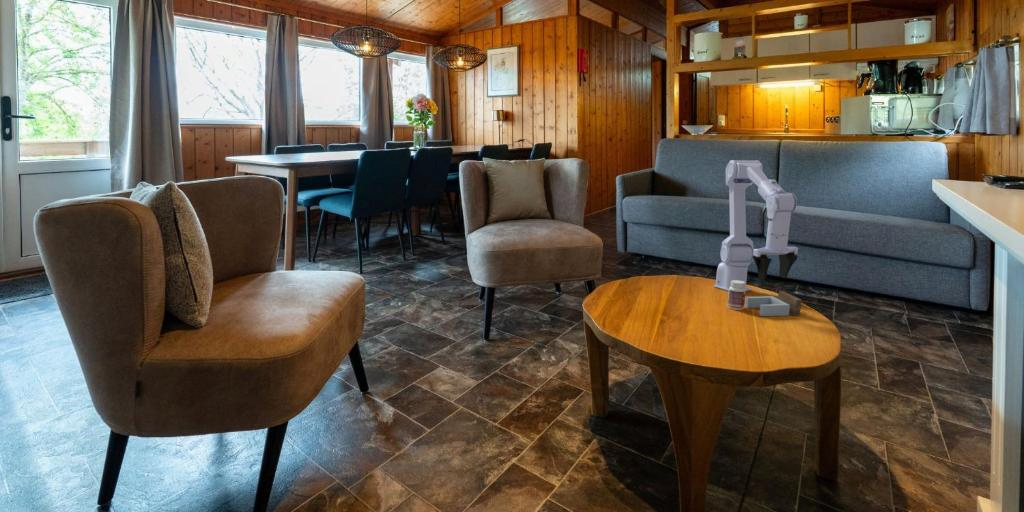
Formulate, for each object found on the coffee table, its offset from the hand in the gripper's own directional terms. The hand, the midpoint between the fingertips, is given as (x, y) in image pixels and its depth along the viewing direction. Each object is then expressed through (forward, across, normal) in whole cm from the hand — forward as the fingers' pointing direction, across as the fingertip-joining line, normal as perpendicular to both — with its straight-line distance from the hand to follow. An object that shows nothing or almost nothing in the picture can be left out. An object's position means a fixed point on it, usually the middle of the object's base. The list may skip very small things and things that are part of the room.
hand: (772, 278), depth 161 cm
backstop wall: (+10, +4, -3) cm, 11 cm away
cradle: (+10, -2, -1) cm, 10 cm away
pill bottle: (+10, -9, +4) cm, 14 cm away
